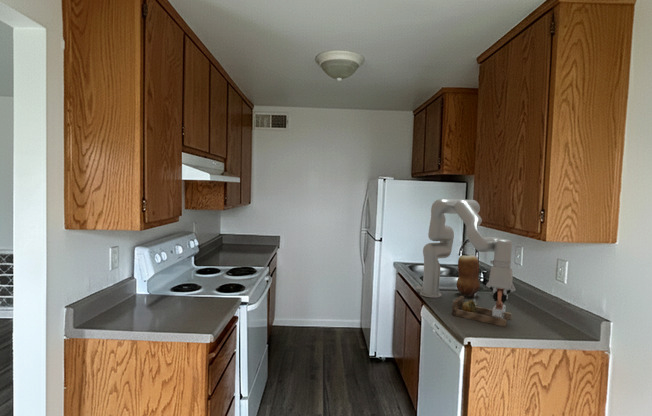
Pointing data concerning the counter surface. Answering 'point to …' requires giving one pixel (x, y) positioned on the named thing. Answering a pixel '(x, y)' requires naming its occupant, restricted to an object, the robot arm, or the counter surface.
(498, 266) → the robot arm
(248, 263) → the counter surface
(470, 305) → the onion
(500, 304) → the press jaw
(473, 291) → the butternut squash
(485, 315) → the press frame
